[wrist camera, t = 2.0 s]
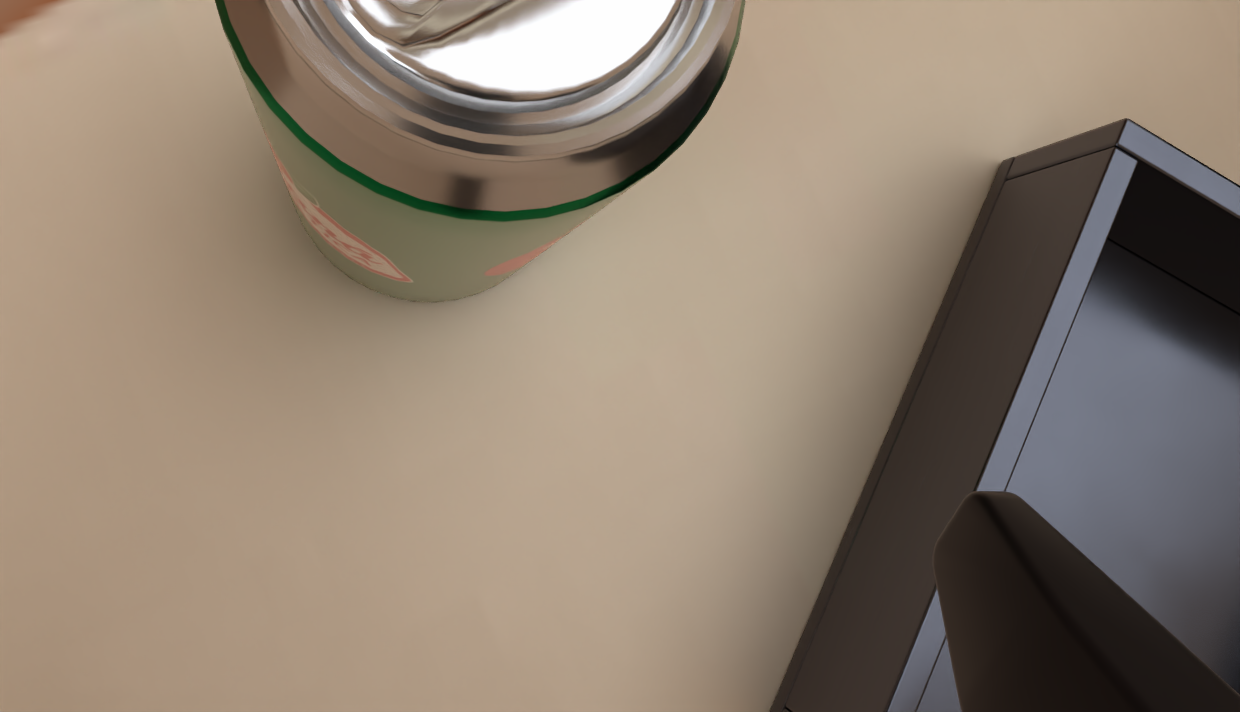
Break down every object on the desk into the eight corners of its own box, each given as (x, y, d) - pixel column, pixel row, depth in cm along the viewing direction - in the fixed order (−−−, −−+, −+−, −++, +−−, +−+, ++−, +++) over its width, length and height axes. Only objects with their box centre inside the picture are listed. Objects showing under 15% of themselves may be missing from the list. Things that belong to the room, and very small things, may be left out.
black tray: (1253, 935, 25) (1420, 1039, 21) (762, 727, 22) (847, 800, 18) (1438, 412, 26) (1625, 417, 22) (1001, 160, 24) (1127, 115, 20)
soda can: (248, 86, 20) (82, -332, 8) (502, 11, 21) (674, -451, 9) (346, 342, 20) (322, 286, 9) (591, 254, 21) (865, 98, 10)
